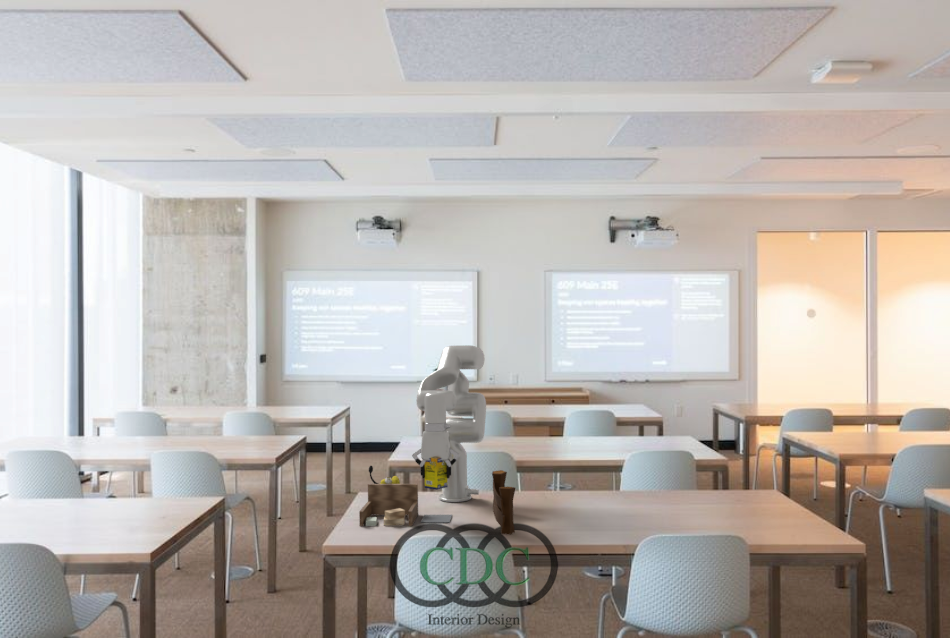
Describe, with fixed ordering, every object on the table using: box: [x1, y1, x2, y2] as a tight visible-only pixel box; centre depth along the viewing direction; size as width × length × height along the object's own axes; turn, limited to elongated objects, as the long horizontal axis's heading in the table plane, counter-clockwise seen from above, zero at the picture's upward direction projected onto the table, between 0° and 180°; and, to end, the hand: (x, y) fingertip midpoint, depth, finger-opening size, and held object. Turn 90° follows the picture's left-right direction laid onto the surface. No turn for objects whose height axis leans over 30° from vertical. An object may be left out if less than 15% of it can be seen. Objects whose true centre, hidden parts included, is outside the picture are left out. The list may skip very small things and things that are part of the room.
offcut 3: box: [383, 516, 406, 527], centre depth 259 cm, size 7×4×2 cm, turn 93°
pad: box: [420, 514, 453, 524], centre depth 264 cm, size 10×10×1 cm
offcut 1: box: [365, 516, 378, 527], centre depth 259 cm, size 4×5×2 cm
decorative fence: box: [491, 469, 516, 535], centre depth 259 cm, size 34×6×15 cm, turn 4°
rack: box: [358, 483, 419, 527], centre depth 264 cm, size 18×16×11 cm
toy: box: [368, 465, 401, 484], centre depth 290 cm, size 6×14×15 cm
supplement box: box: [424, 458, 447, 491], centre depth 264 cm, size 6×6×11 cm
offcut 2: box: [384, 508, 406, 520], centre depth 259 cm, size 6×4×2 cm, turn 126°
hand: (436, 477), depth 264 cm, fingers closed on supplement box, 8 cm apart
